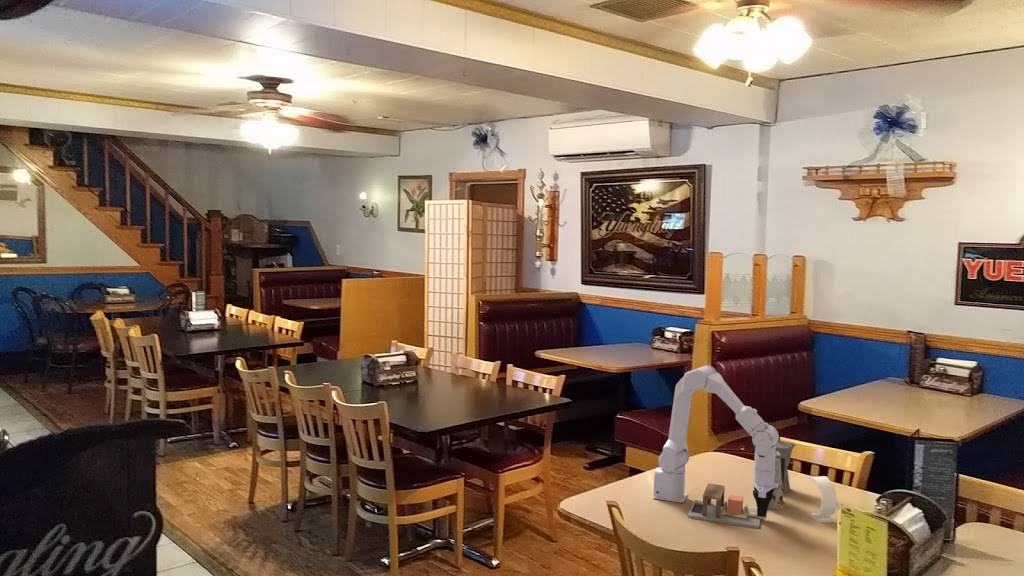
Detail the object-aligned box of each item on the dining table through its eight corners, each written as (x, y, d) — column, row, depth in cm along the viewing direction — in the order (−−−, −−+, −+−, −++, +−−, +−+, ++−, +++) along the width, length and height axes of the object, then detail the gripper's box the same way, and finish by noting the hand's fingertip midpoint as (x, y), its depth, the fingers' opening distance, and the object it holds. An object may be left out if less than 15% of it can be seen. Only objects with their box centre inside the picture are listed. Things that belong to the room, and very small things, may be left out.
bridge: (702, 515, 221) (703, 495, 220) (707, 502, 231) (707, 483, 230) (719, 518, 219) (720, 497, 218) (723, 505, 229) (724, 485, 229)
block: (727, 512, 222) (728, 499, 221) (728, 507, 225) (729, 494, 225) (741, 514, 220) (742, 501, 220) (742, 509, 224) (743, 496, 223)
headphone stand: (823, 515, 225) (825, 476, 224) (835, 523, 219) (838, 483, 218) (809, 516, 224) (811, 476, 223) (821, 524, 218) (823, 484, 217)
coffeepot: (785, 482, 252) (787, 430, 251) (801, 492, 243) (804, 438, 242) (743, 485, 249) (745, 432, 247) (758, 495, 240) (761, 440, 238)
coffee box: (783, 510, 228) (785, 458, 227) (761, 508, 229) (763, 456, 228) (778, 499, 237) (781, 449, 236) (757, 497, 238) (759, 448, 237)
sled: (721, 514, 221) (722, 500, 221) (723, 507, 227) (724, 493, 226) (765, 521, 217) (766, 506, 216) (766, 514, 222) (767, 499, 222)
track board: (687, 517, 221) (688, 514, 221) (694, 502, 234) (694, 499, 233) (758, 528, 214) (759, 525, 214) (761, 512, 226) (761, 509, 226)
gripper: (778, 477, 210) (775, 524, 212) (780, 462, 224) (778, 506, 225) (751, 474, 213) (749, 520, 214) (755, 459, 226) (753, 503, 228)
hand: (762, 513), depth 220 cm, fingers closed on sled, 2 cm apart
